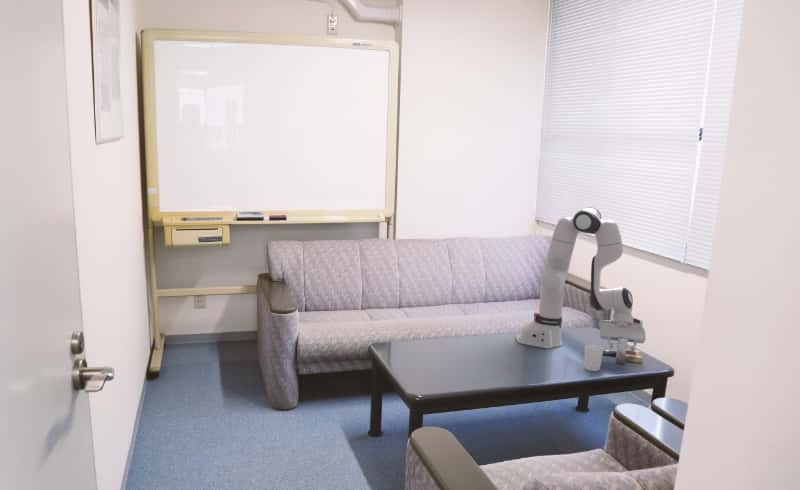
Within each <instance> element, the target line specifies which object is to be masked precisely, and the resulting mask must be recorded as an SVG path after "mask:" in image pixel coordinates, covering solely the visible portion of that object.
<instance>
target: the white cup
mask: <svg viewBox="0 0 800 490" xmlns="http://www.w3.org/2000/svg"><path fill="white" fill-rule="evenodd" d="M603 350H604V347H602V346H600V345H598V344H591V343H589V344H586V345H584V355H583V356H584V357H583V358H584V365H583V369H585V370H587V371H590V372H599V371H600V369H601V366H602V360H603V356H604V355H603Z"/></svg>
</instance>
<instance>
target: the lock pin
mask: <svg viewBox="0 0 800 490" xmlns="http://www.w3.org/2000/svg"><path fill="white" fill-rule="evenodd" d="M616 353H617V350H609V349H608V350H607V349H603V356H610V357H611V356H612V357H616Z"/></svg>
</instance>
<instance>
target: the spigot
mask: <svg viewBox="0 0 800 490" xmlns="http://www.w3.org/2000/svg"><path fill="white" fill-rule="evenodd" d="M627 340H628V339H627V338H625V337H618V341H617V346H616V347H617V348H616V356H615V364H616V365H620V366H623V365H625V363H626V361H625V356H626V349H628V348H627V347H628V346H627V345H628V342H627Z"/></svg>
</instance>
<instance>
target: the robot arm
mask: <svg viewBox="0 0 800 490" xmlns="http://www.w3.org/2000/svg"><path fill="white" fill-rule="evenodd" d="M579 233H584V234H590V235H594V236H595V240H596V245H597V250H596V251H597V252H596V254H595V255H593V257H592V259H591V265H590V266H591V268H590V294H589V304H590V307H591V308H592V309H594V310H596V311H604V310H612V311H613V313H612V320H606V319H602V320H600V321H599V323H598V327H599V335H598V336H599V338H600V339H602V340H606V342H607V343H608V345H609V348H610V349H614V343H613V342H612V341H617V342H618V337H625V338H627V339H628V340H627V343H633V345H631V346H630V350H632V351H634V350H636V346H637V345H638V344H644V343H646V339H647V336H646V330H645V327H644V326H643V321H642V320H640V319H638V318H636V317H634V316H633V314H632V311H633V305H634V304H633V303H634V302H633V294H632V293H631V291H630V290H628V289H627V288H626V287H612V288H601V274H602V273H601V272H602V271H603V269H604V268H606V267H607V266H609V265H611V264H612V263H615V262H616V261H618V260H619V259H620V258H621V257H622V255H623V251H624V250H623V241H622V235H621V230H620V229H619V226H618V223H617V222H616V221H615V220H611V219H602V213H600V211H599V210H598V209H597V208H595V207H591V206H589V207H585V208H582V209H580V210H578V211H577V212H576V213H575V215H573V217H567V216H565V217H561V218H560V219H559V220H558V221H557V224H556V226H555V228H554V231H553V233H552V237H551V240H550V244H549V249H548V252H547V259H546V265H545V267H544V271H543V272H542V273H541V274H540V275H541V276H540V285H539V291H540V292H539V309H538V312H537V311H536V312H533V317H534V319H533V321H530V322H529V323H527V324H525V325H524V326H523V327H522V329H521V332H520V333H518V334H517V335H516V342H517V343H518V344H523V345H527V346H532V347H538V348H543V349H549V350H550V349H552V348H558V347H561V346H562V345H563V340H562V330H561V329H562V327H563V307H564V306H563V305H564V286H565V282H566V280H567V277H568V273H569V269H570V265H571V260H572V256H573V251H574V249H575V245H576V242H577V238H578V235H579Z"/></svg>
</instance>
